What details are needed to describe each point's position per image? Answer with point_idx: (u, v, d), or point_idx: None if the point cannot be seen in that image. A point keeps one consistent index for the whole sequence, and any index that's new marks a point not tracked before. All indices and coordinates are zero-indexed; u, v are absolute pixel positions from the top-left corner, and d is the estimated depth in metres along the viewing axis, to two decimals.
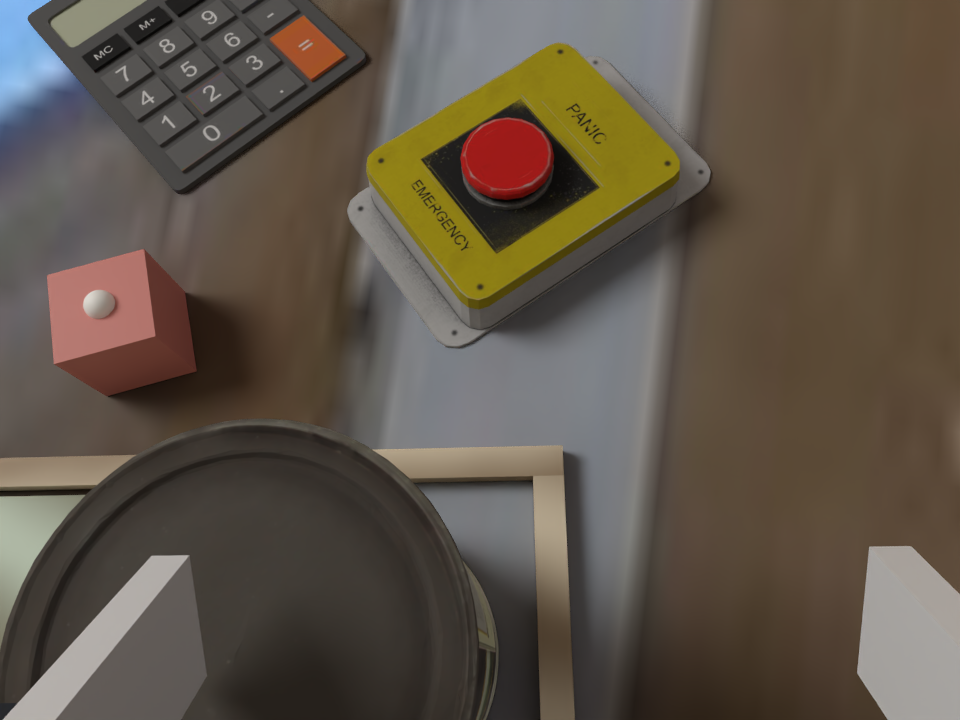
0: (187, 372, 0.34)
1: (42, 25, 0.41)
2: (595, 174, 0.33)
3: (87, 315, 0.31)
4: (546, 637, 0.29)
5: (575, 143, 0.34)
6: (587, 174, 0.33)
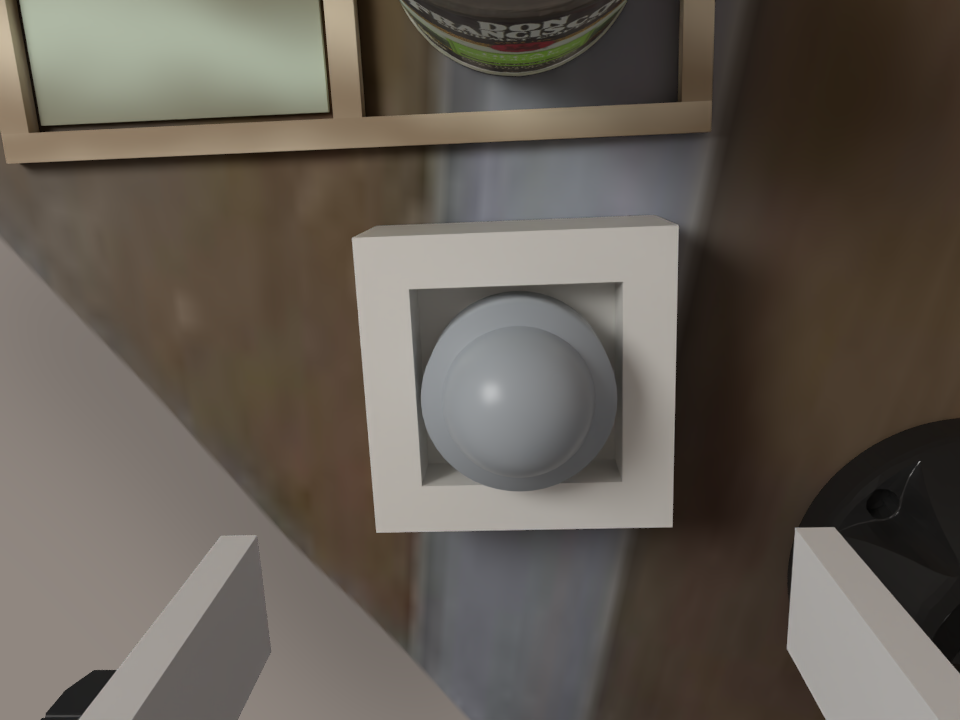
0: None
1: None
2: None
3: None
4: None
5: None
6: None
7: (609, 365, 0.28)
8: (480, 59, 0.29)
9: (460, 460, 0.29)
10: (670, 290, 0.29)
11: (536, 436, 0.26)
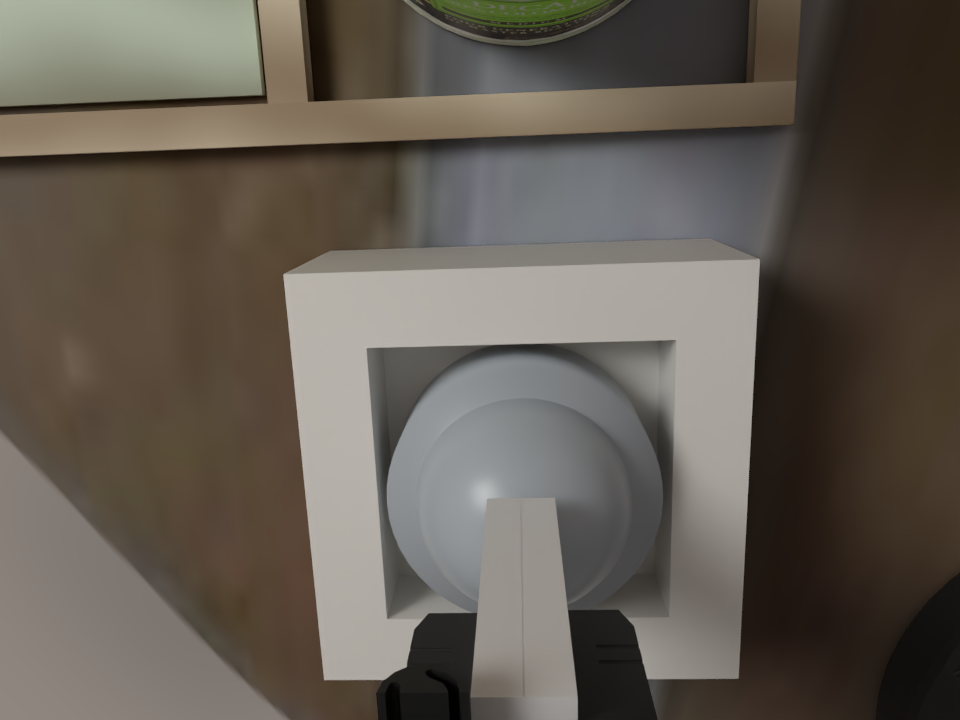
0: None
1: None
2: None
3: None
4: None
5: None
6: None
7: (652, 453, 0.20)
8: (470, 16, 0.20)
9: (442, 580, 0.21)
10: (745, 352, 0.20)
11: None
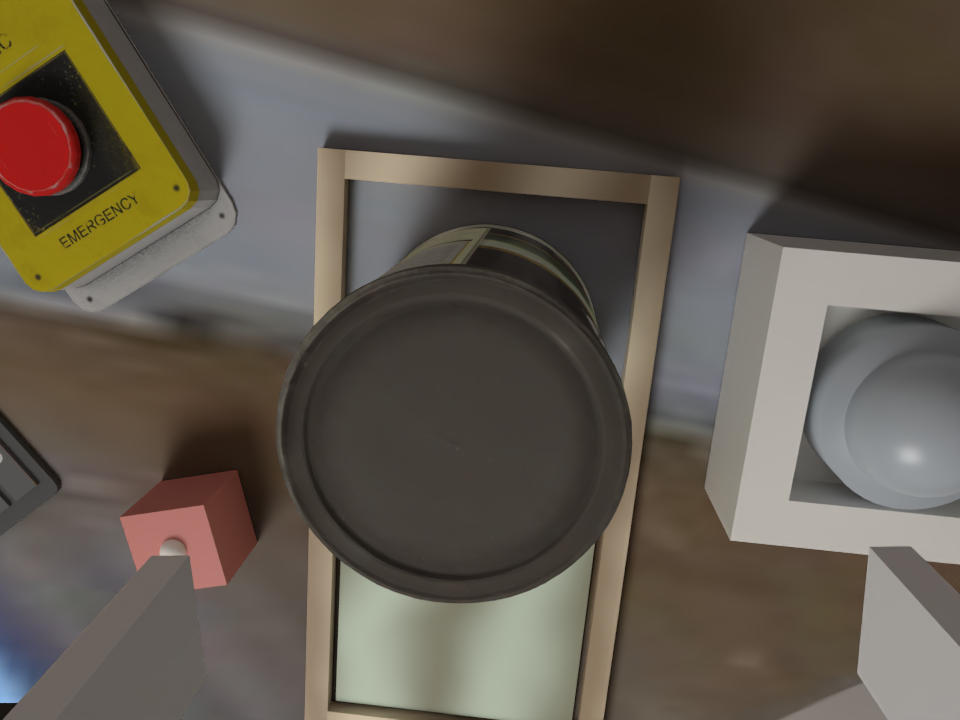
0: (237, 477, 0.38)
1: None
2: (48, 52, 0.31)
3: None
4: (483, 183, 0.33)
5: (12, 69, 0.32)
6: (48, 61, 0.32)
7: (907, 333, 0.29)
8: None
9: None
10: (847, 259, 0.29)
11: None
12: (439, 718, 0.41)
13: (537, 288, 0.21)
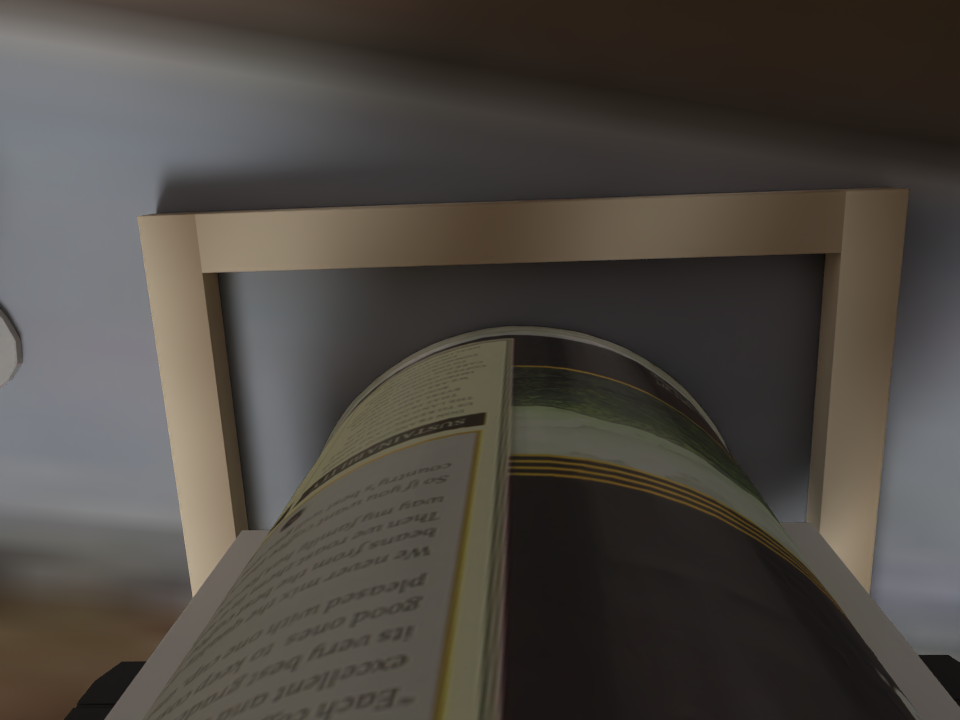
0: None
1: None
2: None
3: None
4: (488, 248, 0.16)
5: None
6: None
7: None
8: None
9: None
10: None
11: None
12: None
13: None
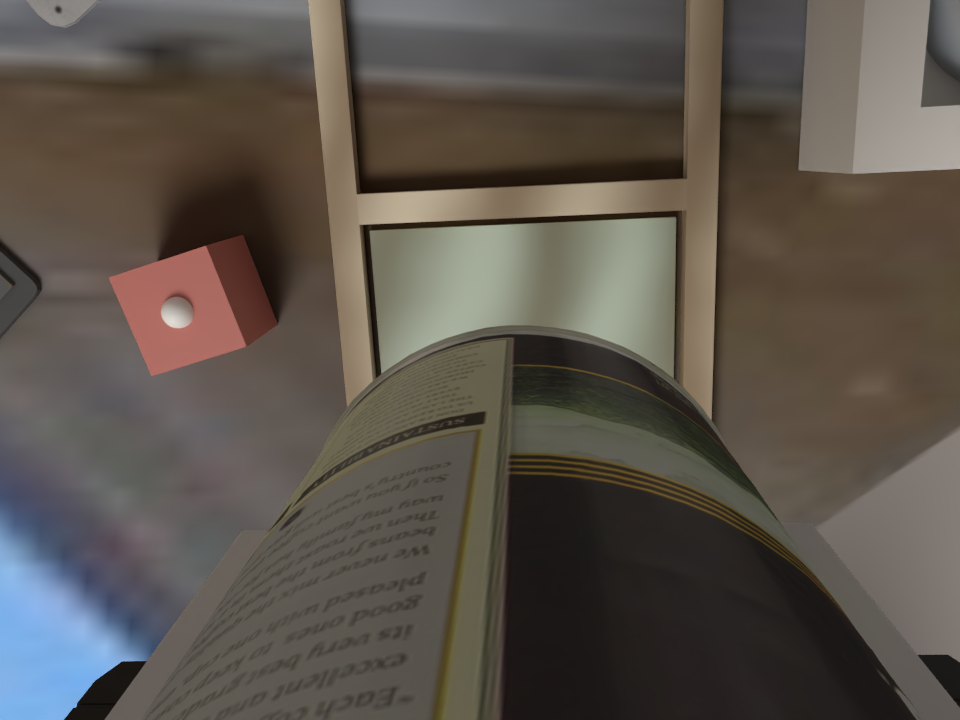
0: (245, 243, 0.33)
1: None
2: None
3: (191, 322, 0.30)
4: None
5: None
6: None
7: None
8: None
9: None
10: None
11: None
12: None
13: None
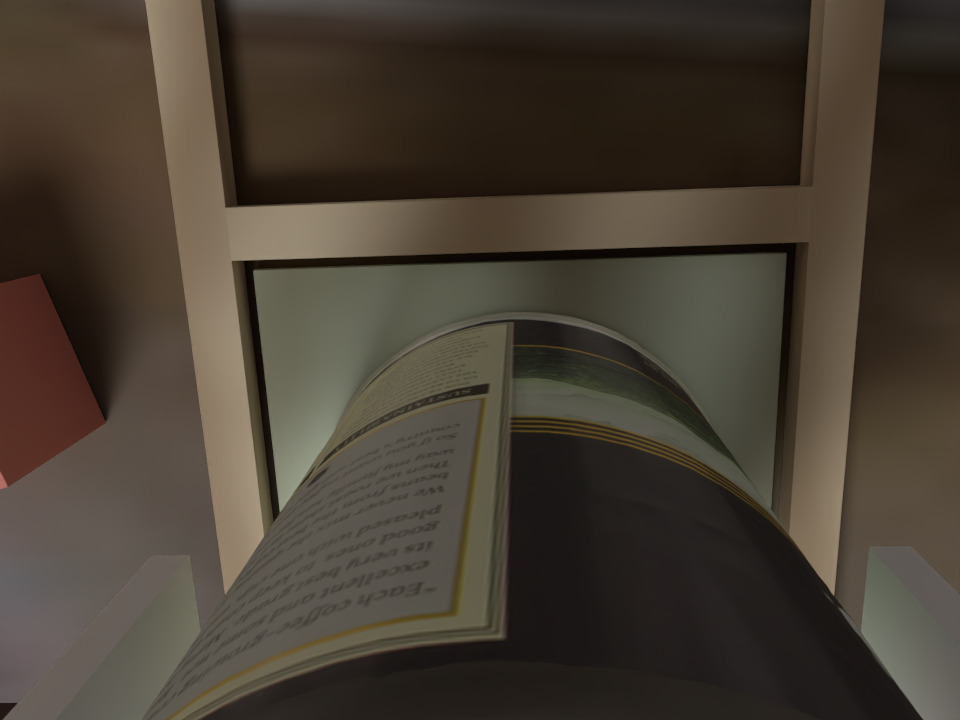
0: (42, 288, 0.19)
1: None
2: None
3: None
4: None
5: None
6: None
7: None
8: None
9: None
10: None
11: None
12: None
13: None
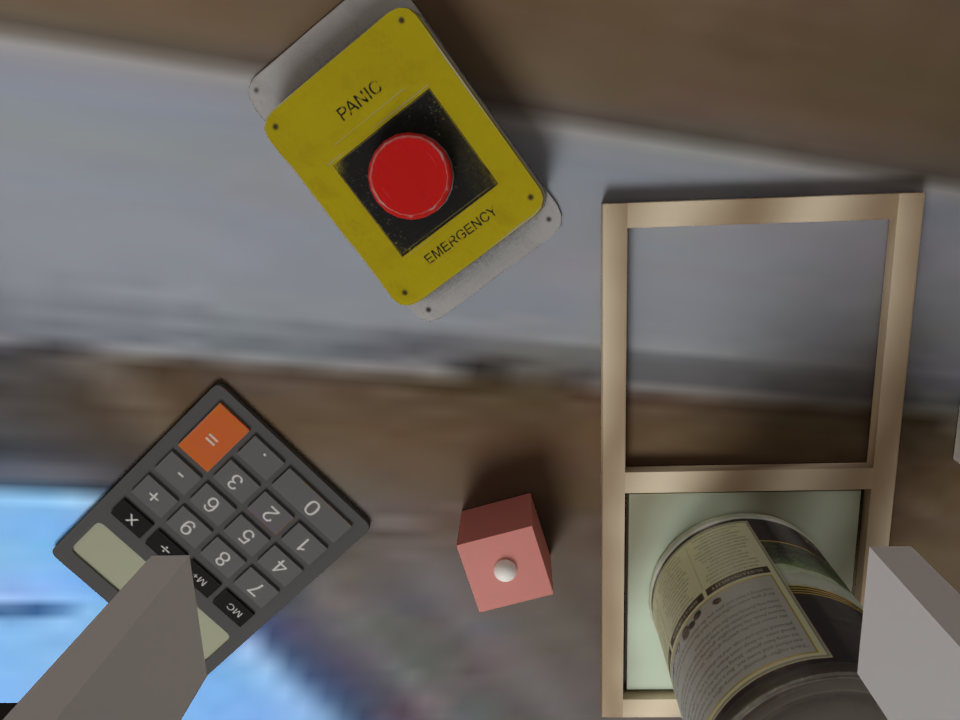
0: (532, 499, 0.43)
1: (208, 665, 0.47)
2: (414, 92, 0.36)
3: (514, 577, 0.40)
4: (750, 217, 0.38)
5: (382, 111, 0.36)
6: (415, 99, 0.36)
7: None
8: None
9: None
10: None
11: None
12: None
13: None
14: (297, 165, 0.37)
